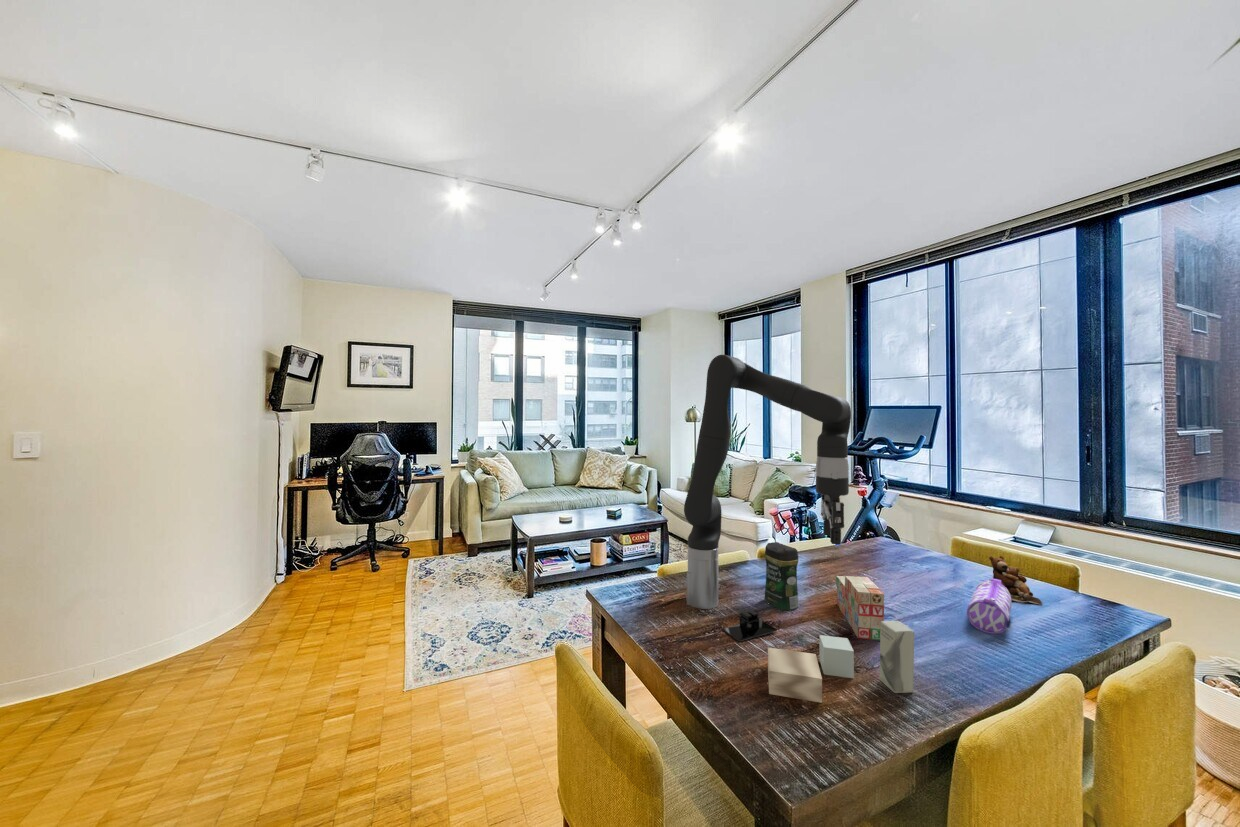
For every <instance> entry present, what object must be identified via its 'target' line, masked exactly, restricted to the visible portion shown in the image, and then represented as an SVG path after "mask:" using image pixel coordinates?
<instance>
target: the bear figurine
mask: <svg viewBox="0 0 1240 827" xmlns="http://www.w3.org/2000/svg"><path fill="white" fill-rule="evenodd" d="M988 560H989V561H990V563H991V567H992V575H993V576H992V578H993V579H998V580H1001V584H1002V585H1003V586H1005V587H1006V588H1007V589H1008V591H1009V593H1010V595H1011V601H1013V602H1017V603H1025V604H1026V603H1032V604H1037V605H1040V606H1042V605H1043V602H1042V601H1041V599H1040V598H1038V597H1035V596H1034V592H1032V591H1031V590H1030V586H1028V585H1027V584H1026V582H1027V578H1026V577H1025V576H1024V575H1022V574H1019V572H1020V568H1019V567H1015V566H1012V565H1011V566H1009V565H1008V564H1007V563H1006V561H1005V559H1004V556H1002V555H1000V556H999V557H994V556H992V555H991V556H989V557H988ZM988 581H991V578H989V579H988Z"/></svg>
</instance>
